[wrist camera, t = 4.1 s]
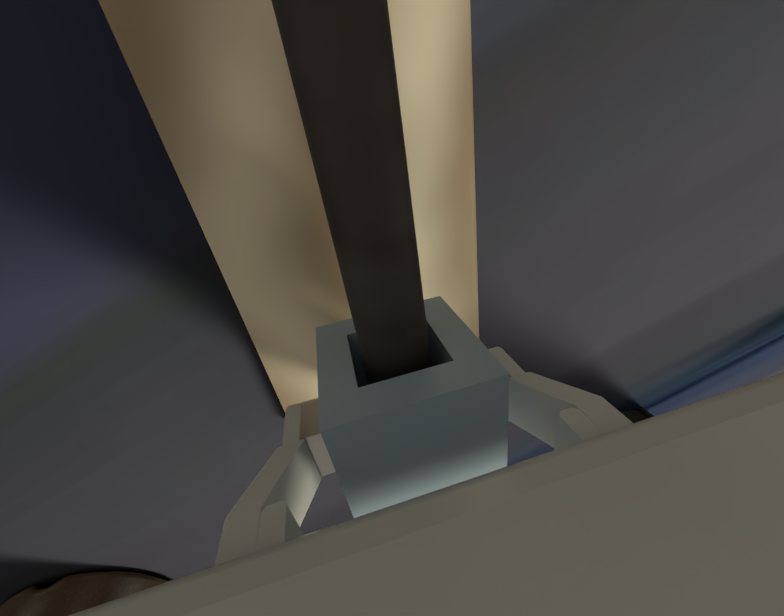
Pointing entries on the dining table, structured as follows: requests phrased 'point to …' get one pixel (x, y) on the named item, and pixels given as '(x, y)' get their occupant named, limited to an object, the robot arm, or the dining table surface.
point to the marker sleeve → (411, 414)
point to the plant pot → (77, 593)
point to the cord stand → (320, 164)
